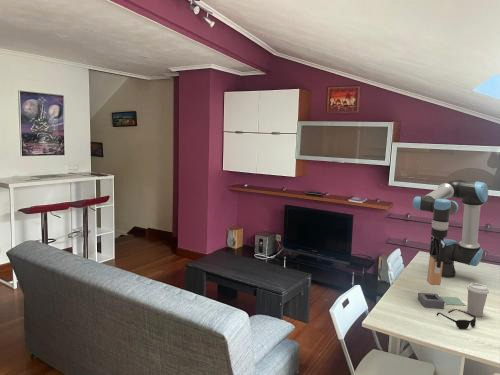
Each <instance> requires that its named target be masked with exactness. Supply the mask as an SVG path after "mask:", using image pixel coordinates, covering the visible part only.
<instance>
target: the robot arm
mask: <svg viewBox="0 0 500 375" xmlns="http://www.w3.org/2000/svg"><path fill="white" fill-rule="evenodd" d="M488 187H489V186H488V185H487V183H485V182H483V181H482V182H481V181H478V180H477V181H476V180H466V179H451V180H448V181H445V182H443V183H441V184H439V185H438V187H437V188H435V189H434V190H433V191H431V192H428V193H427V194H425V195H423V197H422V196H415V197H414V198H413V200H412V208H413V209H414V210H416V211H417V210H418V211H420V212H421V211H422V212H427V213H432V220H431V230H430V235H431V237H430V244H429V245H430V246H429V256H430V255H436V260H435V270H434V273H440V270H441V262H443V267H442V275H441V278H446V279H447V278H448V279H450V278H451V279H452V278H455V277H456V273H457V272H456V269H455V262H456V263H460V264H463V265H467V266H472V267H476V266H478V265H479V264H480V262H481V261H482V259H483V254H484V250H483V249H482V248H481V244H480V243H479V241H478V239H479V228H480V218H481V217H480V216H481V207H482V206H483V205H484V203H486V202H487V201H488V199H489V188H488ZM450 198H454V199H459V200H460V199H461V203H462V205H463V215H462V216H463V220H462V233H461V240H460V241H457V240H455V239H451V238H447V237H448V231H449V230H448V229H449V222H450V216H453V215H455V214H456V213H457V212H458V210H459V207H460V206H459V204H458V203H457V201H454V200H450ZM457 242H458V243H457Z"/></svg>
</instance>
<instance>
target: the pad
mask: <svg viewBox="0 0 500 375" xmlns="http://www.w3.org/2000/svg"><path fill="white" fill-rule="evenodd" d="M439 296H440V295H439ZM440 297H441V298H442V299H443V300H444V301H445V305H447V306H450V305H452V306H463V307H467V305H466V304H465V303H464V302H463V301H462V300H461V299H459V297H457V296H440Z"/></svg>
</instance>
